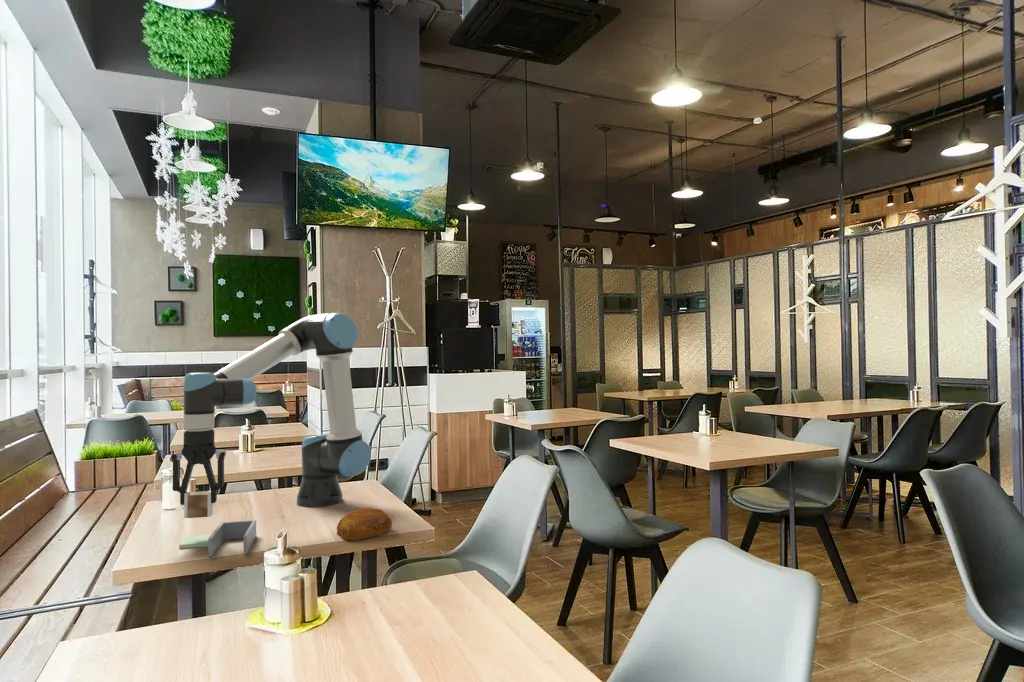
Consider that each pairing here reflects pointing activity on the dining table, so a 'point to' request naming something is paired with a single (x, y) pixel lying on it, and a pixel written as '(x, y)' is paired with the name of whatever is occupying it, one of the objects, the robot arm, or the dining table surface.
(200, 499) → the block
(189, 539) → the coaster
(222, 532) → the u-shaped bracket
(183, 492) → the robot arm
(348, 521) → the brown oval lump
